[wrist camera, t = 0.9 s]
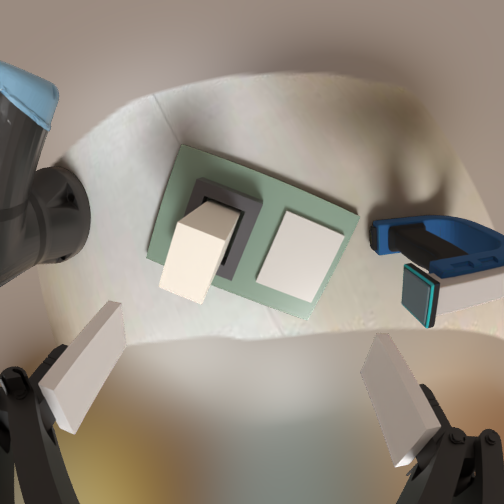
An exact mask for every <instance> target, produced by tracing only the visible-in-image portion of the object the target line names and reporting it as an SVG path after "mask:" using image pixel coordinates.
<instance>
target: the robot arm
mask: <svg viewBox="0 0 504 504" xmlns="http://www.w3.org/2000/svg"><path fill="white" fill-rule="evenodd" d="M58 100H59V92H58V89H57V87H56V86H55V85H54V84H53V83H51V82H49V81H47V80H45V79H43V78H41V77H38V76H36V75H34V74H32V73H29V72H27V71H25V70H22V69H20V68H18V67H15V66H13V65H10V64H8V63H6V62H3V61H0V287H1V286H3V285H4V284H6V283H7V282H9V281H10V280H12V279H14V278H15V277H17V276H18V275H20V274H21V273H23V272H25V271H26V270H28V269H29V268H31V267H33V266H35V265H36V264H52V263H61V262H64V261H66V260H68V259H70V258H71V257H73V256H75V255H76V254H78V253H79V252H80V251H81V249H82V248H83V246H84V245H85V243H86V240H87V238H88V234H89V230H90V207H89V202H88V199H87V195H86V193H85V190H84V188H83V186H82V185H81V183H80V181H79V180H78V179H77V178H76V176H75V175H74V174H72V173H71V172H70V171H68V170H67V169H65V168H62V167H47V168H42V169H40V170H37V171H36V167H37V164H38V161H39V157H40V154H41V151H42V148H43V145H44V142H45V139H46V136H47V134H48V131H50V129H51V126H50V125H51V121H52V118H53V115H54V112H55V109H56V106H57V104H58ZM35 171H36V172H35ZM126 346H127V345H126V338H125V330H124V322H123V313H122V303H118V302H113V301H108V302H107V303H106V304H105V305H104V306H103V307H102V308H101V310H100V311H99V312H98V313H97V314H96V315H95V316H94V317H93V319H92V320H91V321H90V322H89V323H88V324H87V325H86V326H85V328H84V329H83V330H82V331H81V332H80V333H79V335H78V336H77V337H76V338H75V339H74V340H73V342H72V343H71V344H70V345H69V346H67V345H64V344H62V345H60V346H58V347H57V348H55V349H54V350H53V351H52V352H51V353H50V354H49V355H48V358H46V359H45V360H44V361H43V363H42V364H41V365H40V366H39V367H38V368H37V369H36V371H35V372H34V373H33V374H32V375H31V377H30V378H28V376H27V374H26V372H25V371H24V370H23V369H22V368H20V367H9V368H7V369H5V370H4V371H3V372H2V373H1V374H0V383H1V385H2V387H0V504H15V502H14V462H15V467H16V471H17V476H18V480H19V484H20V488H21V492H22V495H23V499H24V502H25V504H80V503H79V501H78V499H77V496H76V494H75V492H74V489H73V486H72V484H71V481H70V478H69V476H68V473H67V470H66V467H65V464H64V461H63V458H62V455H61V452H60V448H59V445H58V441H57V438H56V434H55V430H54V428H53V424H54V422H55V421H57V423H58V425H59V427H60V428H61V429H63V430H65V431H68V432H70V433H73V434H75V433H76V431H77V429H78V428H79V426H80V424H81V422H82V420H83V419H84V417H85V415H86V413H87V411H88V410H89V408H90V406H91V404H92V403H93V401H94V399H95V397H96V396H97V394H98V392H99V391H100V389H101V387H102V385H103V384H104V382H105V380H106V379H107V377H108V375H109V374H110V372H111V370H112V369H113V367H114V365H115V364H116V362H117V360H118V359H119V357H120V355H121V354H122V352H123V351H124V349H125V347H126ZM360 373H361V375H362V378H363V380H364V383H365V386H366V388H367V391H368V394H369V396H370V399H371V401H372V404H373V407H374V410H375V412H376V415H377V418H378V421H379V424H380V426H381V429H382V432H383V435H384V438H385V441H386V443H387V446H388V449H389V452H390V455H391V458H392V461H393V464H394V467H398V466H403V465H407V464H410V462H411V461H412V460H413V459H414V458H415V457H416V459H417V461H418V463H417V464H416V465H415V466H414V467H413V468H412V469H411V470H410V471H409V472H408V473H407V474H406V475H407V476H408V475H409V474H410V473H411V475H410V477H409V479H408V481H407V483H406V485H405V487H404V489H403V491H402V493H401V495H400V497H399V499H398V501H397V503H396V504H504V461H503V452H502V444H501V439H500V436H499V435H498V433H497V432H495V431H494V430H491V429H486V430H484V431H482V433H481V434H480V435H479V436H478V437H474V436H473V437H472V436H466V434H465V433H464V432H463V431H462V430H461V429H459V428H455V427H451V425H450V423H449V421H448V420H447V418H446V416H445V414H444V412H443V410H442V409H441V407H440V406H439V403H438V402H437V400H435V397H434V395H433V393H432V391H431V390H430V389H429V388H428V387H427V386H426V385H424V384H420V385H419V384H418V382H417V380H416V379H415V377H414V375H413V373H412V372H411V370H410V368H409V367H408V365H407V363H406V361H405V360H404V359H403V357H402V355H401V353H400V351H399V350H398V348H397V346H396V345H395V343H394V342H393V340H392V338H391V337H390V335H389V334H388V333H376V335H375V338H374V340H373V343H372V345H371V348H370V350H369V353H368V355H367V358H366V360H365V362H364V365H363V367H362V369H361V372H360Z"/></svg>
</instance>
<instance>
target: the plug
mask: <svg viewBox="0 0 504 504" xmlns="http://www.w3.org/2000/svg"><path fill="white" fill-rule="evenodd" d="M241 211H242V210H240V209H237V208H235V207H232V206H230V205H227V204H224V203H222V202H219V201H217V200H214V199H212V198H211V199H210V200H208V201H207V202H205V203H204V204H202V205H201V206H199V207H198V208H197V209H195V210H194V211H192V212H191V213H189V214H188V215H187V216H185V217H184V218H182V219H181V220H180V221H178V222H177V225H176V229H175V232H174V235H173V238H172V241H171V245H170V248H169V251H168V255H167V258H166V262H165V265H164V269H163V272H162V276H161V279H160V283H159V287H160V288H163V289H165V290H167V291H170V292H172V293H174V294H177V295H179V296H182V297H184V298H186V299H189V300H191V301H194V302H196V303H199V304H201V305H202V303H203V301H204V298H205V296H206V294H207V292H208V290H209V287H210V285H211V283H212V281H213V279H214V276H215V274H216V272H217V270H218V268H219V265H220V263H221V261H222V259H223V257H224V255H225V252H226V250H227V247H228V245H229V242H230V240H231V237H232V234H233V232H234V229H235V227H236V224H237V222H238V219H239V216H240V214H241Z"/></svg>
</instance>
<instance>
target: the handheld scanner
mask: <svg viewBox="0 0 504 504" xmlns="http://www.w3.org/2000/svg"><path fill="white" fill-rule="evenodd" d="M370 247H371V248H372V249H373V250H374V251H375V252H376V253H377V254H378V255H386V254H393V253H400V252H401V253H402V254H403V255H404V256H406V257H407V258H408V259H410V260H411V261H412V262H414V263H415V264H417V265H418V266H421V267H423V268H425V269H426V270H428V271H429V273H425V272H424V271H422V270H421V269H419V268H418V267H416V266H415V265H413V264H412V263H408V264H405V265H404V273H403V290H402V305H403V306H404V307H405V308H406V309H407V310H408V311H409V312H410V313H411V314H412V315H413V316H414V317H415V318H416V319H417V320H418V321H419V322H420V323H421V324H422V325H423V326H424V327H425V328H430V327H433V326H434V324H435V318H436V316H439V315H443V314H447V313H451V312H455V311H459V310H463V309H467V308H470V307H474V306H478V305H481V304H485V303H488V302H491V301H495V300H498V299H501V298H504V235H502V234H500V233H498V232H496V231H494V230H492V229H490V228H488V227H485V226H483V225H480V224H478V223H475V222H473V221H470V220H466V219H462V218H458V217H451V216H440V215H425V216H415V217H405V218H396V219H386V220H377V221H373V226H371V230H370Z"/></svg>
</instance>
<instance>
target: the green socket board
mask: <svg viewBox="0 0 504 504" xmlns="http://www.w3.org/2000/svg"><path fill="white" fill-rule="evenodd" d="M211 198H212V199H214V200H217V201H219V202H222V203H224V204H227V205H230V206H232V207H235V208H237V209H240V210H242V211H241V214H240V216H239V219H238V222H237V224H236V227H235V229H234V232H233V234H232V237H231V240H230V242H229V245H228V247H227V250H226V252H225V255H224V257H223V259H222V261H221V263H220V265H219V268H218V270H217V272H216V274H215V276H214V279H213V281H212V283H211V285H213V286H216V287H218V288H221V289H223V290H226V291H228V292H231V293H233V294H236V295H239V296H241V297H244V298H247V299H249V300H252V301H255V302H257V303H260V304H263V305H265V306H268V307H271V308H273V309H276V310H279V311H282V312H284V313H287V314H290V315H293V316H296V317H298V318H301V319H304V320H308V319H309V317H310V315H311V313H312V311H313V310H314V308H315V306H316V304H317V302H318V301H319V299H320V297H321V295H322V293H323V291H324V289H325V287H326V286H327V284H328V282H329V280H330V278H331V276H332V274H333V272H334V270H335V268H336V266H337V264H338V262H339V260H340V258H341V256H342V254H343V252H344V250H345V248H346V246H347V244H348V242H349V240H350V238H351V236H352V234H353V232H354V229H355V227H356V225H357V223H358V221H359V219H360V216H358V215H356V214H354V213H352V212H350V211H348V210H346V209H344V208H342V207H339V206H337V205H335V204H333V203H331V202H329V201H326V200H324V199H322V198H320V197H317V196H315V195H313V194H311V193H308V192H306V191H304V190H301V189H299V188H297V187H294V186H292V185H290V184H287V183H285V182H283V181H280V180H278V179H275V178H273V177H270V176H268V175H265V174H263V173H260V172H258V171H255V170H253V169H250V168H248V167H245V166H242V165H240V164H237V163H234V162H232V161H229V160H226V159H224V158H221V157H218V156H215V155H213V154H210V153H207V152H204V151H201V150H198V149H196V148H193V147H190V146H187V145H184V144H181V147H180V150H179V152H178V155H177V158H176V161H175V164H174V167H173V170H172V173H171V176H170V178H169V182H168V185H167V188H166V191H165V194H164V197H163V200H162V203H161V207H160V210H159V213H158V217H157V220H156V224H155V227H154V231H153V234H152V238H151V242H150V245H149V249H148V253H147V257H146V258H147V259H150V260H152V261H154V262H157V263H159V264H161V265H165V262H166V258H167V255H168V251H169V248H170V245H171V241H172V238H173V235H174V232H175V229H176V225H177V222H178V221H180V220H181V219H182V218H184V217H185V216H187V215H188V214H189V213H191V212H192V211H194V210H195V209H197V208H198V207H199V206H201V205H202V204H204V203H205V202H207V201H208V200H210V199H211Z"/></svg>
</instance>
